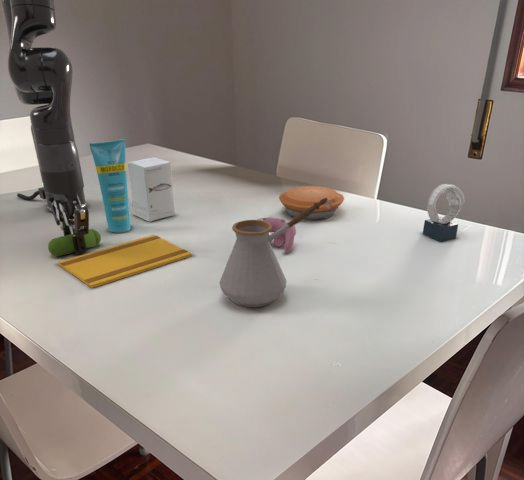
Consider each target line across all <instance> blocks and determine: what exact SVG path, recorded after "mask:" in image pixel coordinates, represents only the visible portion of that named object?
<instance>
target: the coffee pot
mask: <svg viewBox="0 0 524 480" xmlns="http://www.w3.org/2000/svg"><path fill="white" fill-rule="evenodd" d="M326 201H328V202H329V203H330V201H329V200H328V199H327V198H324V199H322V200H320V202H318V203H314V205H313V206H312V207H310V208H308V209H306V210H304V211H302V212H301V213H300V214H299V215H297V216H296V217H293V218H292V219H291V220H290V221H288V223H287V224H286V225H285V226H283V227H282V228H280V229H279V230H277V231H276V232H272V233H271V234H269V235H270V236H268V233H270V232H269V231H270V230H271V228H272V226H271V224H270V223H268V222H266V221H262V220H257V219H245V220H240V221H237V222H235V223H233V224H232V227H231V228H232V231H233V232H234V233H235V237H236V239H235V242H234V245H233V247H232V250H231V252H230V254H229V257H228V260H227V261H226V264H225V267H224V270H223V272H222V275H221V278H220V279H219V287H220V289H221V292H222V293H223V294H224V295H225V296H226V297H227V298H228V299H229V300H231V301H232V302H233V304H236V305H238V306H241V307H246V308H261V307H265V306H268V305H271V304H272V303H273V302H274V301H275V300H276V299H278V298H280V296H281V295H282V294H283V293H284V292H285V289H286V287H287V282H288V281H287V278H286V277H285V274H284V272H283V269H282V267H281V264H280V263H279V260H278V257H277V256H276V254H275V251H274V249H273V247H272V244H271V242H272V241H274V239H275V238H276V237H277V236H279V235H280V234H281V233H283V232H284V231H286V230H287V229H288V228H290V227H292V226H294V227H295V225H297V224H299V223H300V222H302V221H304V220H306V219H305V218H307V217H308V216H309V215H310V214H311V213H312V212H313V211H314V210H316V209H317V210H318V209H319V207H320V206H321V205H323V204H324V205H325V206H326V207H327V208H329V207H328V206H327V205H326V204H325V203H326ZM330 205H331V203H330ZM331 208H332V205H331ZM329 209H330V208H329Z"/></svg>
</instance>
